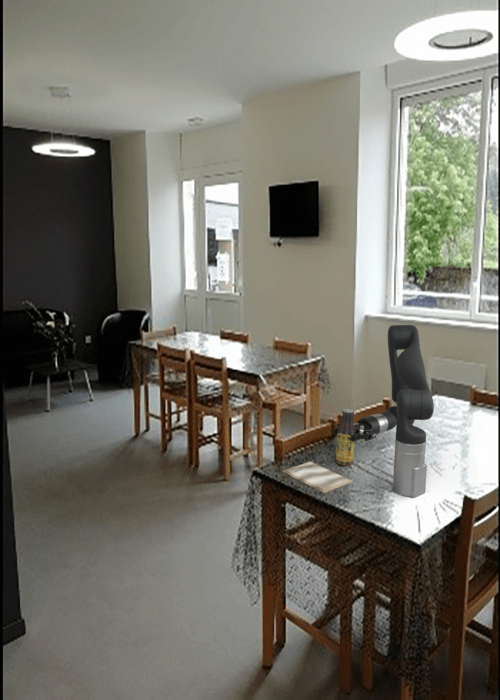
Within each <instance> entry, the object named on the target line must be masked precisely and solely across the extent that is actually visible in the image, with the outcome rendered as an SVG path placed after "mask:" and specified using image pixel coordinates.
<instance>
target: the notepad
mask: <svg viewBox="0 0 500 700" xmlns="http://www.w3.org/2000/svg"><path fill="white" fill-rule="evenodd" d="M282 473H284V474H286V475H288V476H289V475H290V477H291V478H293V479H295V480H297V481H300V482H302V483H304V484H306V485H307V486H310V487H311V488H313V489H315V490H317V491H319V492H321V493H323V494H325V493H328V492H331V491H333V490H336V489H338V488H341V487H343V486H345V485H348V484H350V483H353V480H351V479H350V478H347V477H345V476H343V475H341V474H338V473H336V472H334V471H332V470H330V469H328V468H326V467H323V466H321V465H320V464H317V463H315V462H313V461H307V462H304V463H302V464H299V465H295V466H292V467H290V468H288V469H283V470H282Z"/></svg>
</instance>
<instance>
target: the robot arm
mask: <svg viewBox="0 0 500 700" xmlns="http://www.w3.org/2000/svg"><path fill="white" fill-rule="evenodd" d="M420 347H421V346H420V335H419V331H418V328H417V327H416V325H413V324H395V325H394V324H393V325H390V326H389V327H388V330H387V350H388V357H389V367H390V375H391V400H392V401H393V402H394V403H395V404H396V405H394V406H393V405H392V406H390V407H388V408H387V409H386V410H384V411H383V412H380V413H375V414H371V415H368V416H364V417H362V418H361V417H360V418H359V419H358V420H357V422H355V423H354V422H353V425H354V427H355V431H356V432H355V434H354V435H351V441H352V442H354V441H355V442H357V441H359V440H360V441H363V440H364V442H369V441H371V440H374V439H376V438H377V436H378V435H381V434H383V433H385V432H388V431H391V430H393V429H394V428H395V441H394V455H393V456H394V458H393V473H392V475H393V476H392V479H393V480H392V490H393V491H394V493H396V494H398V495H401V496H405V497H411V498H414V499H415V498H416V497H419V496H420V495H423V494H425V493H426V487H427V486H426V485H427V470H428V465H427V464H426V463H425V462H426V461H425V458H426V444H427V443H426V442H427V433H426V431H425V430H424V429H422V428H421V427H419V426H416V425H413V424H414V423H415V421H427V420H429V419H431V418H432V417H433V416H434V415H433V414H434V411H435V405H434V399H433V395H432V392H431V389H430V387H429V383H428V381H427V374H426V368H425V363H424V360H423V357H422V356H423V355H422V351H421V348H420ZM398 350H399V351H401V350H402V352H401V353H400V354H399V355H398ZM341 423H342V422H339V423H336V426H337V427H334V428H333V429H332V434H333V435H335V436H336V435H338V429H339V426H340V424H341Z"/></svg>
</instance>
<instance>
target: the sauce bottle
mask: <svg viewBox="0 0 500 700" xmlns="http://www.w3.org/2000/svg"><path fill="white" fill-rule="evenodd" d="M341 414H342V418H341V419H342V420H341V422H340V423H341V424H340V426H339V429H338V434H337V437H336V440H337V441H336V450H335V451H336V452H335V462H336V464H337V465H340V466H345V467H346V466H347V467H348V466H351V465H353V464H354V457H355V442H356V441H354V442H352V441H351V435H354V434H355V432H356V431H355V427H354V425H353V424H354V415H355V410H354V409H350V408H343V409H342V412H341Z"/></svg>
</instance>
